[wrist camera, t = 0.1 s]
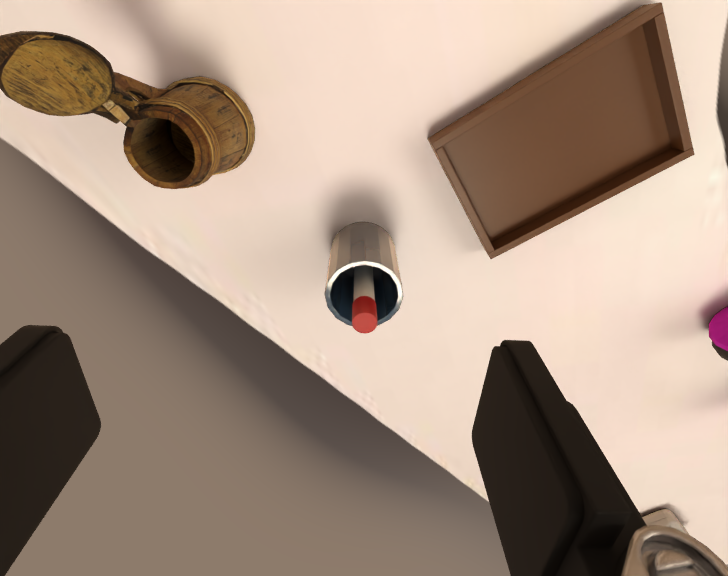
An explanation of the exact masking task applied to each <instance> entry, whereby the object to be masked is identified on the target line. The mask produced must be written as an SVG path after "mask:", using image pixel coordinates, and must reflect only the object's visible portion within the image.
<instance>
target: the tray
mask: <svg viewBox="0 0 728 576" xmlns="http://www.w3.org/2000/svg"><path fill="white" fill-rule="evenodd" d="M428 141H429V143H430V145H431V147H432V148H433V150H434V152H435V154H436V156H437V158H438V160H439V162H440V164H441V166H442V168H443V170H444V172H445V174H446V176H447V177H448V179H449V181H450V183H451V185H452V187H453V189H454V191H455V193H456V195H457V197H458V199H459V201H460V203H461V205H462V206H463V208H464V210H465V212H466V214H467V216H468V218H469V220H470V222H471V224H472V226H473V228H474V230H475V232H476V234H477V235H478V237H479V239H480V241H481V243H482V245H483V247H484V249H485V251H486V252H487V254H488V255H489V257H490V259H492V258H494V257H496V256H498V255H500V254H502V253H504V252H506V251H508V250H510V249H512V248H514V247H516V246H518V245H520V244H521V243H523V242H525V241H527V240H529V239H531V238H533V237H535V236H537V235H539V234H541V233H543V232H545V231H547V230H549V229H551V228H553V227H554V226H556V225H558V224H560V223H562V222H564V221H566V220H568V219H570V218H572V217H574V216H576V215H578V214H580V213H582V212H584V211H585V210H587V209H589V208H591V207H593V206H595V205H597V204H599V203H601V202H603V201H605V200H607V199H609V198H611V197H613V196H615V195H617V194H618V193H620V192H622V191H624V190H626V189H628V188H630V187H632V186H634V185H636V184H638V183H640V182H642V181H644V180H646V179H648V178H650V177H651V176H653V175H655V174H657V173H659V172H661V171H663V170H665V169H667V168H669V167H671V166H673V165H675V164H677V163H679V162H681V161H683V160H684V159H686V158H688V157H690V156H692V155H694V151H693V147H692V142H691V137H690V133H689V128H688V123H687V119H686V114H685V109H684V105H683V100H682V95H681V91H680V86H679V81H678V77H677V72H676V67H675V63H674V58H673V53H672V49H671V44H670V39H669V35H668V30H667V25H666V21H665V16H664V12H663V7H662V3H654V4H648V5H643V6H641V7H639V8H638V9H636V10H635V11H633V12H631V13H630V14H628V15H626V16H625V17H623V18H622V19H620V20H618V21H617V22H615V23H614V24H612V25H610V26H609V27H607V28H605V29H604V30H602V31H601V32H599V33H597V34H596V35H594V36H592V37H591V38H589V39H588V40H586V41H584V42H583V43H581V44H580V45H578V46H576V47H575V48H573V49H571V50H570V51H568V52H567V53H565V54H563V55H562V56H560V57H559V58H557V59H555V60H554V61H552V62H550V63H549V64H547V65H546V66H544V67H542V68H541V69H539V70H538V71H536V72H534V73H533V74H531V75H529V76H528V77H526V78H525V79H523V80H521V81H520V82H518V83H516V84H515V85H513V86H512V87H510V88H508V89H507V90H505V91H504V92H502V93H500V94H499V95H497V96H495V97H494V98H492V99H491V100H489V101H487V102H486V103H484V104H483V105H481V106H479V107H478V108H476V109H474V110H473V111H471V112H470V113H468V114H466V115H465V116H463V117H462V118H460V119H458V120H457V121H455V122H453V123H452V124H450V125H449V126H447V127H445V128H444V129H442V130H440V131H439V132H437V133H436V134H434V135H432V136H431V137H429V138H428Z"/></svg>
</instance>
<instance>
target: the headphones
mask: <svg viewBox="0 0 728 576" xmlns="http://www.w3.org/2000/svg"><path fill="white" fill-rule="evenodd" d="M709 337H710V338H711V340H712V346H713V347H714V349H715V350H716V351H717V353H718V354H719V355H720V356H721V357H722V358H724V359H726V360H728V307H726V308H724V309H723V310H721V311H720V312H718V313H717V314H715V315H714V317H713V318H712V320H711V322H710V323H709Z"/></svg>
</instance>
